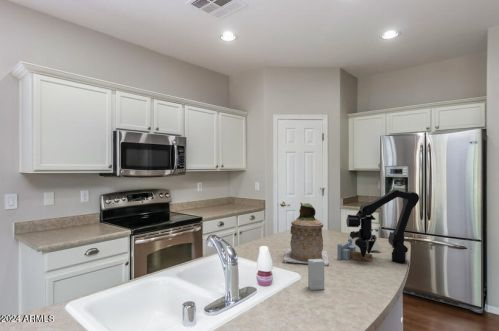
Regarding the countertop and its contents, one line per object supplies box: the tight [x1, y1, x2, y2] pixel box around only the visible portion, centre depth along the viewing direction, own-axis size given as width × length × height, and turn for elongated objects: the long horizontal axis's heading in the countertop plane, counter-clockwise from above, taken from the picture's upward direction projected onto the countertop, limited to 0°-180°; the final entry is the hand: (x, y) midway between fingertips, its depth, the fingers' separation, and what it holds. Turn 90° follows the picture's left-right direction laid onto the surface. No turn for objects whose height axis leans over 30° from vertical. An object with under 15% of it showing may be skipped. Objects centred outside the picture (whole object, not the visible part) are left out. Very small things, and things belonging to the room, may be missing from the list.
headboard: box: [336, 238, 356, 261], centre depth 174 cm, size 5×18×9 cm, turn 141°
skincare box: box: [307, 259, 325, 291], centre depth 129 cm, size 6×4×12 cm
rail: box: [350, 250, 373, 263], centre depth 170 cm, size 13×4×4 cm, turn 51°
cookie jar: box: [282, 202, 330, 267], centre depth 171 cm, size 25×25×32 cm
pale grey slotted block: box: [347, 235, 382, 252], centre depth 190 cm, size 16×9×15 cm
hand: (366, 255), depth 168 cm, fingers open, 9 cm apart
